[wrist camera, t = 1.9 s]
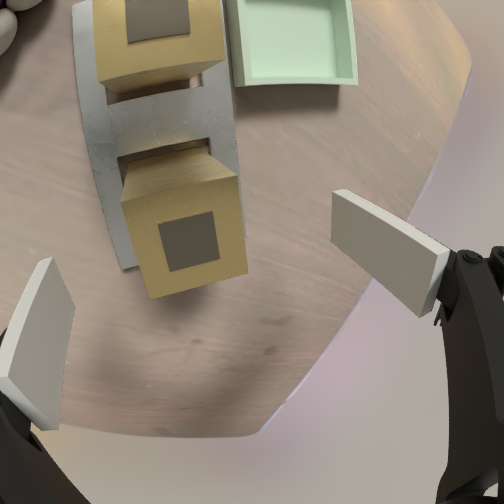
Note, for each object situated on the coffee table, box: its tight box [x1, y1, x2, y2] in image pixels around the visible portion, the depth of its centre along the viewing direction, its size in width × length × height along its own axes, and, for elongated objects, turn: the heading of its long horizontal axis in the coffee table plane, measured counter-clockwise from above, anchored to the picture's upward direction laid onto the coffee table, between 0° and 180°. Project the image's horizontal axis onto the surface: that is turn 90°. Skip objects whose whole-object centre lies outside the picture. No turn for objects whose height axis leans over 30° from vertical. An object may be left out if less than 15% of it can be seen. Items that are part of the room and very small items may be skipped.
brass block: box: [121, 147, 248, 300], centre depth 17 cm, size 5×5×9 cm
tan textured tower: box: [92, 0, 226, 93], centre depth 11 cm, size 5×5×9 cm
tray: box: [226, 0, 358, 87], centre depth 16 cm, size 9×9×2 cm
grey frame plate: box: [72, 0, 246, 269], centre depth 17 cm, size 10×20×1 cm, turn 5°
